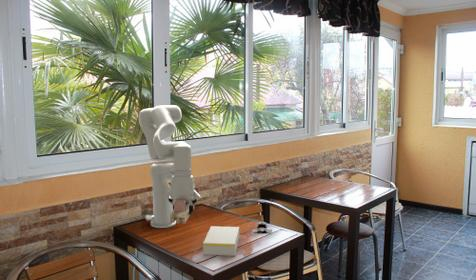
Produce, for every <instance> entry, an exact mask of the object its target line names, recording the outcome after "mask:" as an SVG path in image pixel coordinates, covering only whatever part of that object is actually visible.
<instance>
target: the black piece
mask: <svg viewBox="0 0 476 280" xmlns="http://www.w3.org/2000/svg"><path fill="white" fill-rule="evenodd" d="M267 227H268V224H267V222H265V221H258V224H257V227H256V228H252V230H251V233H252V234H271V235H272V234H273V229H267Z"/></svg>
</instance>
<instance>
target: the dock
mask: <svg viewBox="0 0 476 280" xmlns="http://www.w3.org/2000/svg"><path fill="white" fill-rule="evenodd" d="M204 238H205V239H204V240H203V242H202V246H203V247H202V250H203V251H202V252H203V255H204V256H205V255H207V256H229V257H231V256H234V257H235V256H236V254H237V249H238V245H239V241H240V226H215V225H213V226H212V225H211V226H210V228H209V230H208V232H207V234H206V237H204Z"/></svg>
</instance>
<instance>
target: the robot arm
mask: <svg viewBox="0 0 476 280" xmlns="http://www.w3.org/2000/svg"><path fill="white" fill-rule="evenodd" d="M182 116H183V114H182V110H181V108H180V106H178V105H176V104H168V105H167V104H166V105H163V104H162V105H156V106H154V107H149V108H143V109H142V110H140V111H139V114H138V122H139V126H140V128H141V131H142V133H143V134H144V136H145V139H146V142H147V143H146V144H147V148H148V154H149V157H150V160H152V161H153V162H154V163H153V164H151V165H150V168H149V173H150V174H149V175H150V179H151V186H152V187H151V188H152V205H153V208H152V210H153V214H152V215H145V220H146V221H147V222H148V221H150V226H151V227H152V228H155V229H168V228H171V227H172V228H173V227H174V226H176V224H177V223H176V220H175V222H174V223H171V222H170V214H171V212H172V211H173V210H174V202H175V201H176V200H188V201H189V203H190V205H189V214H190V216H191V215H192V213H193V212H194V210H193V204H194V205H195V203H197V202H198V201H199V200H200V199H201V195H200V194H199V193H198V192H197V191H196V189H195V181H194V180H195V179H194V175H192V147H191V145H190V144H187V142H185V141H181V140H180V141H166V140H165V139H167V138H169V137H171V136H172V135H173V134H174V133H175V132H176V129H177V127H176V123H177V124H178V123H179V122H180V121H181V119H182ZM168 182H170V184H169V183H168ZM194 197H195V198H194Z"/></svg>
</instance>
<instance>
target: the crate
mask: <svg viewBox="0 0 476 280" xmlns="http://www.w3.org/2000/svg"><path fill="white" fill-rule="evenodd" d="M185 210H186V200H176V201H175V202H174V212H184V211H185Z"/></svg>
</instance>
